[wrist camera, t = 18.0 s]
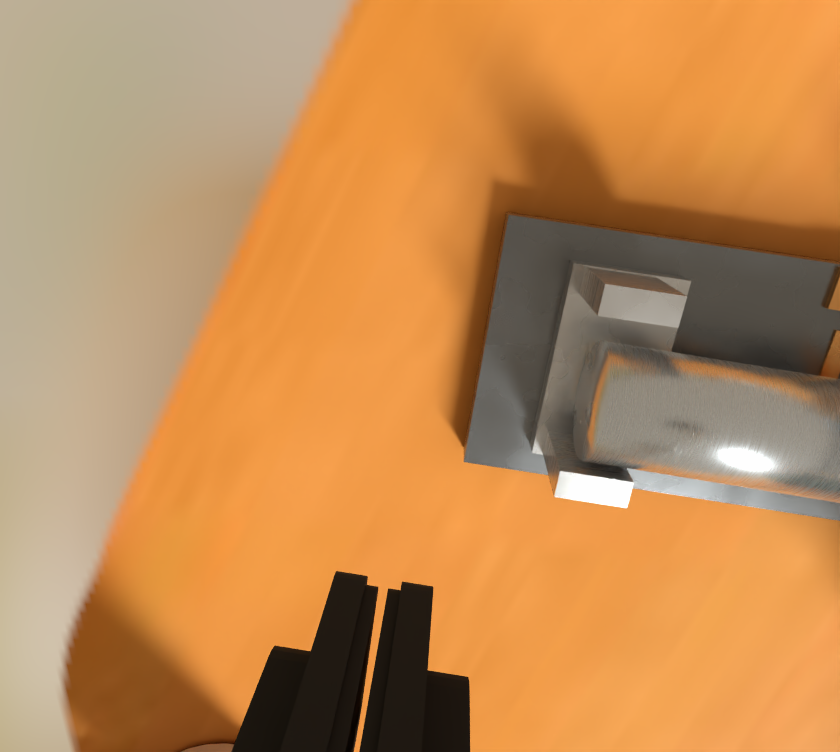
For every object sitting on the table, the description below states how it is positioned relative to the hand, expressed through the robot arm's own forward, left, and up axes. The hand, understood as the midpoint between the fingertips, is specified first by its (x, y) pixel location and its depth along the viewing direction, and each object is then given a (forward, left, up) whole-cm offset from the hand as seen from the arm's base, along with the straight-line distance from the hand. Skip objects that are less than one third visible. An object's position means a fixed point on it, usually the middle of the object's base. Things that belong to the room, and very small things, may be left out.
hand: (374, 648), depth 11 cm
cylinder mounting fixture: (+15, 0, -21) cm, 26 cm away
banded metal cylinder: (+16, -1, -16) cm, 23 cm away
